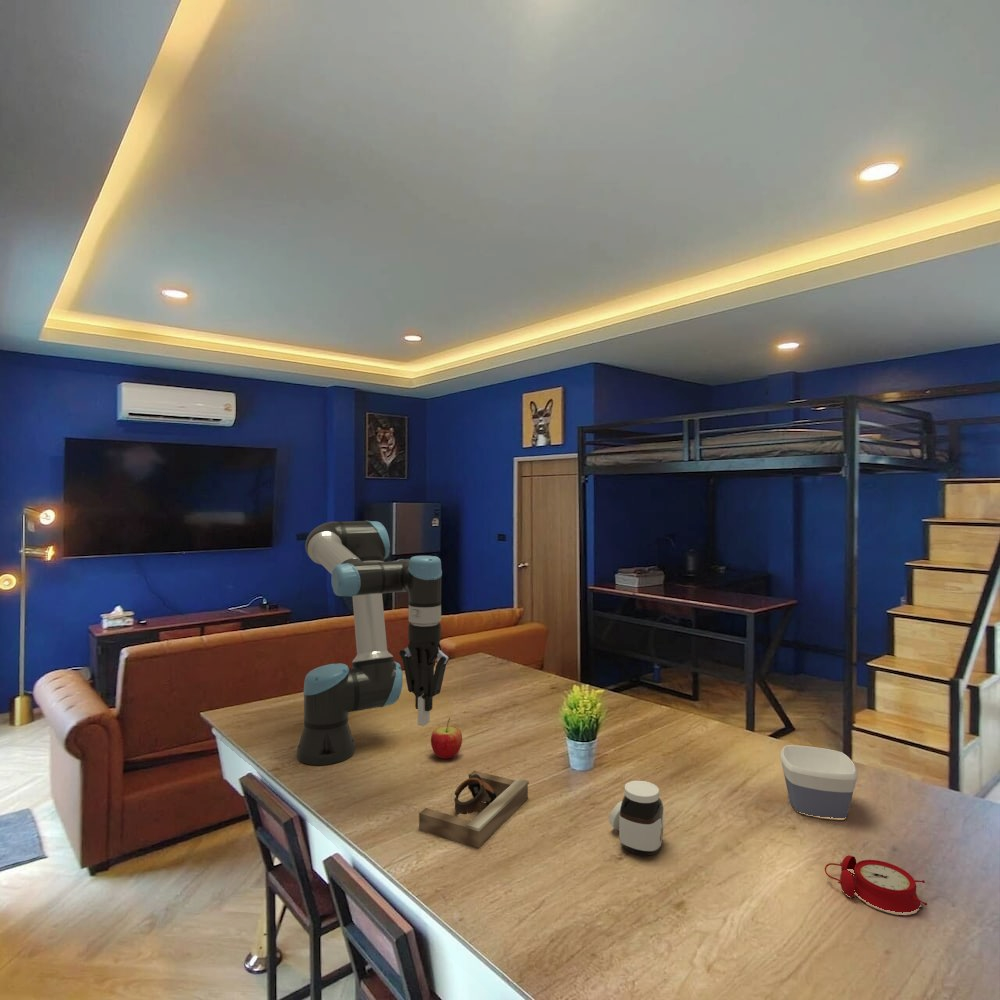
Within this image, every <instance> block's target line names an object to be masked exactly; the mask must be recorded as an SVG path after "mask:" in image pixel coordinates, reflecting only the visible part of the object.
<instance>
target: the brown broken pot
mask: <svg viewBox="0 0 1000 1000" xmlns="http://www.w3.org/2000/svg"><path fill="white" fill-rule="evenodd" d="M466 788H468V789H469V791H470V792H471V795H472V797H473V798H471V799H470V800H467V801H460V800H459V796H460V795H461V793H462V792H463V791H464V790H465V789H466ZM454 795H455V797H454V810H455V813H456V814H460V815H464V816H465V815H467V814H472V813H475V812H479V813H480V812H482V810H481V803H485V804H486V805H489V804H490V803H491V802H493V801H494V800H495V799H496V798H497V796H496V794H495V792H494V790H493V789H492V787H491V786H490V785H489V784H487V783H486V782H483V781H481V778H480V776H479V775H477V774H474V775H472V776H471V778H470V779H469V778H467V779H465V780H463V781H462V782H461V783H460V784H459V785H458V786H457V787H456V789H455V791H454Z"/></svg>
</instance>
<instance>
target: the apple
mask: <svg viewBox="0 0 1000 1000" xmlns="http://www.w3.org/2000/svg"><path fill="white" fill-rule="evenodd" d="M450 720H451V718H450V717H449V718H448V719H447V725H442V726H439V727H437V728H436V729H434V730H433V731H432V732H431V736H430V745H431V748H432V751H433V752H434V754H435V756H437V757H438V758H439V759H443V760H448V759H452V758H454V757H456V755H458V753H459V751H460V750H461V748H462V743H463V735H462V731H461V730H460V729H459V728H458V727H457V726H453V725H449V723H450Z"/></svg>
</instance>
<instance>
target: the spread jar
mask: <svg viewBox="0 0 1000 1000" xmlns="http://www.w3.org/2000/svg"><path fill="white" fill-rule="evenodd" d="M608 818H609V819H608V821H609V824H610V825H611V826H612V827H613V828H614V830H616V831H619V832H618V833H619V842H620V844H621V845H622V847H624V849H626V850H627V851H629V852H630V853H633V854H635V855H638V856H652V855H656V854H657V853H658V852H659V851H660V850H661V846H662V843H663V838H664V804H663V801H662V799H661V798H660V788H659V787H658V786H657V785H656V784H655V783H653V782H649V781H645V780H633V781H632V780H631V781H628V782H626V784H624V796H623V799H622V800H621V801H619V802H618V803H617V804H616V805H615V806H614V807H613V809H612V810H611V812H610V814H609V817H608Z"/></svg>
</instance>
